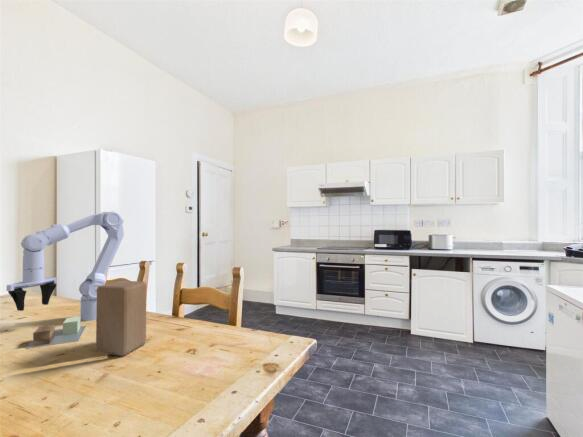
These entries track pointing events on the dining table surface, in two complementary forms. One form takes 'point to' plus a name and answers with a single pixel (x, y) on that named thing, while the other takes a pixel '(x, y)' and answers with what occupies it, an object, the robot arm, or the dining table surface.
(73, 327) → the green brick
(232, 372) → the dining table surface
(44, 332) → the walnut brick
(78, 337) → the baseplate
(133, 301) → the block
